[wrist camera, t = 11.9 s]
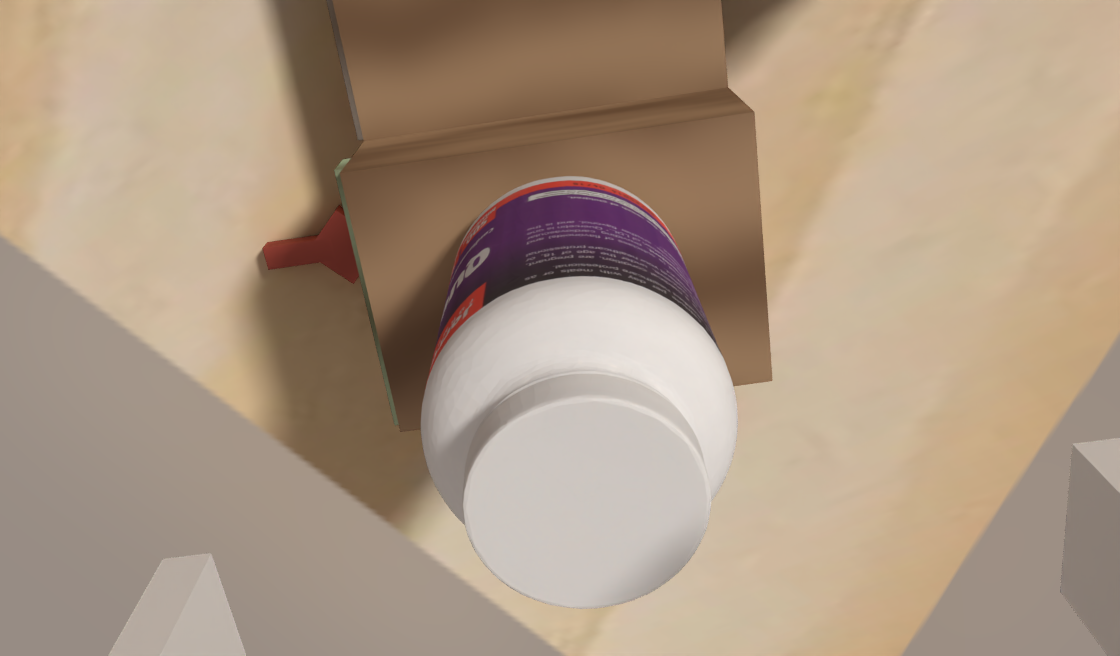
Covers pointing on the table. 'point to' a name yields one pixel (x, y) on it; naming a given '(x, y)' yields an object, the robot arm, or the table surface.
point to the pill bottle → (577, 396)
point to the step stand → (535, 153)
